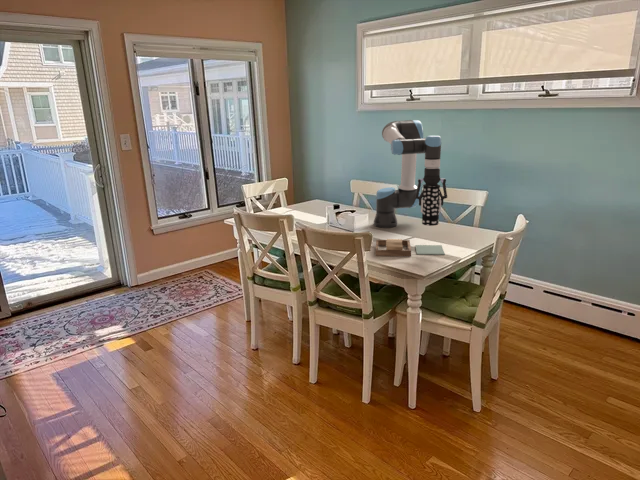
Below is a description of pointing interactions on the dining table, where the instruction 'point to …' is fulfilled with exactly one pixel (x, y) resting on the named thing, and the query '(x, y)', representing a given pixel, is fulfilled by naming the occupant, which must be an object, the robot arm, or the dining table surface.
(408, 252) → the rack
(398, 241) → the offcut
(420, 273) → the dining table surface
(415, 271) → the dining table surface
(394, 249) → the offcut
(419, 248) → the mat
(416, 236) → the dining table surface
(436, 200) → the spotted tube
